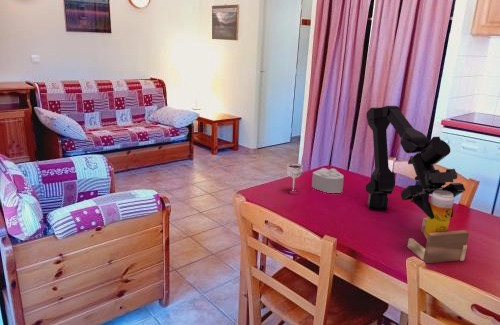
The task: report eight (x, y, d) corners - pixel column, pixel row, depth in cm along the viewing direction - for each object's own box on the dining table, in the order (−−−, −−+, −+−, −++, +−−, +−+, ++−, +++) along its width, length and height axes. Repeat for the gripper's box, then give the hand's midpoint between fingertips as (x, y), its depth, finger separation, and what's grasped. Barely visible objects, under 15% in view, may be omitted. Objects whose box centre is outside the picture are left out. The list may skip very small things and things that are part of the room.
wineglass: (282, 190, 165) (283, 164, 161) (295, 188, 168) (297, 162, 164) (290, 196, 159) (292, 168, 156) (304, 194, 162) (306, 167, 158)
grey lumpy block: (321, 182, 176) (323, 164, 173) (347, 190, 168) (349, 171, 165) (308, 188, 168) (310, 169, 166) (335, 196, 160) (337, 177, 158)
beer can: (436, 245, 114) (445, 198, 109) (419, 236, 119) (427, 191, 114) (449, 241, 117) (459, 195, 112) (432, 232, 122) (441, 188, 117)
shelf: (391, 233, 130) (395, 209, 127) (424, 230, 132) (428, 207, 130) (427, 264, 112) (432, 236, 109) (464, 260, 115) (470, 233, 112)
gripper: (412, 160, 112) (430, 210, 105) (467, 158, 116) (487, 206, 109) (393, 176, 122) (408, 223, 115) (445, 173, 126) (462, 219, 119)
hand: (442, 218), depth 114 cm, fingers closed on beer can, 6 cm apart
